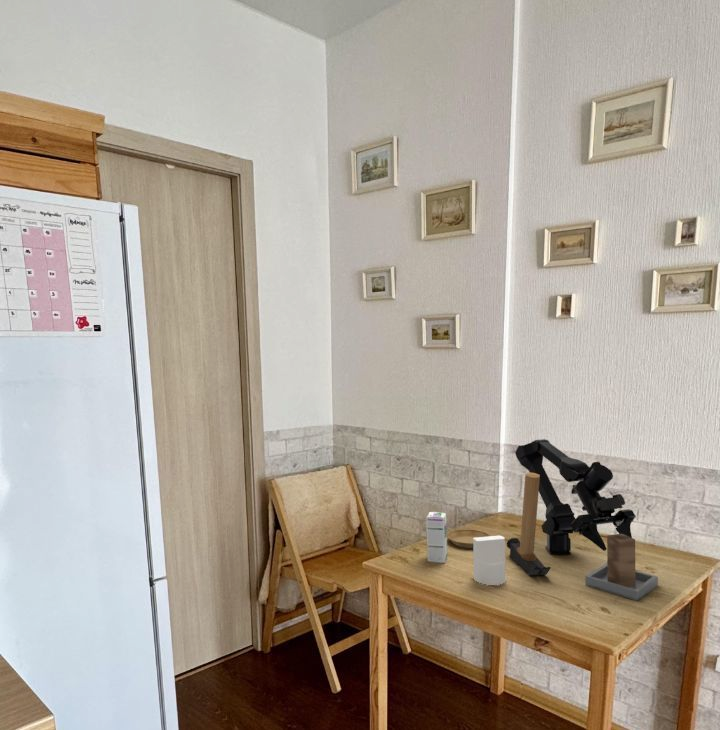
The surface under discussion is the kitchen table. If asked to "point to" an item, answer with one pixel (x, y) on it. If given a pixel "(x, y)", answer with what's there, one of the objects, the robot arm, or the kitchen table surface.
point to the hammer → (528, 530)
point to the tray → (637, 592)
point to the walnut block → (621, 560)
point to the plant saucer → (465, 537)
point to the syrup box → (436, 537)
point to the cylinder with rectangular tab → (489, 560)
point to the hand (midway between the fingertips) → (618, 548)
